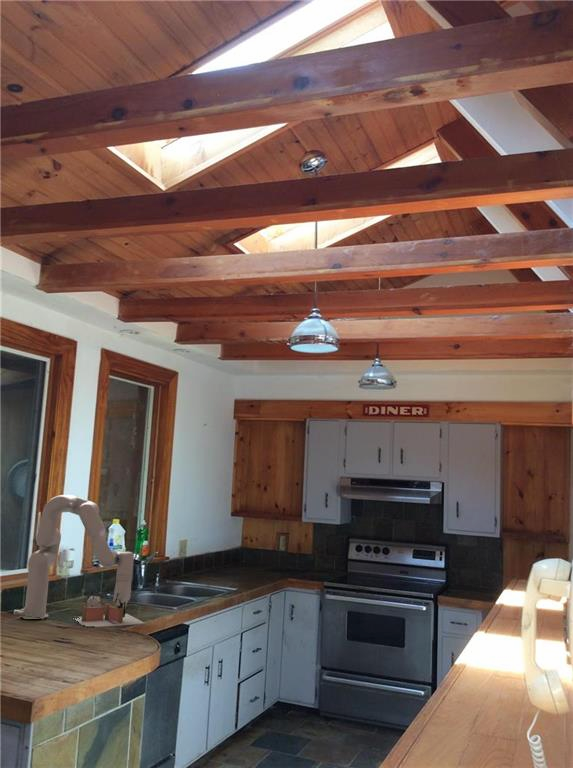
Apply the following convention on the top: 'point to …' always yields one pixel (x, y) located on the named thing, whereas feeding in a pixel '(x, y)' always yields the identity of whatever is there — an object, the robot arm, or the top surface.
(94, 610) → the fence fixed
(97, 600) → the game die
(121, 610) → the fence panel
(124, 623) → the card
